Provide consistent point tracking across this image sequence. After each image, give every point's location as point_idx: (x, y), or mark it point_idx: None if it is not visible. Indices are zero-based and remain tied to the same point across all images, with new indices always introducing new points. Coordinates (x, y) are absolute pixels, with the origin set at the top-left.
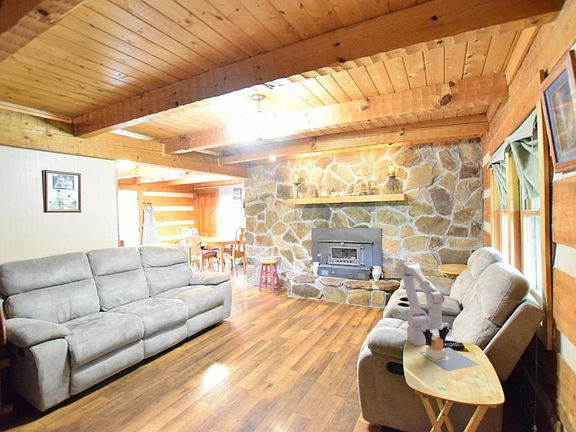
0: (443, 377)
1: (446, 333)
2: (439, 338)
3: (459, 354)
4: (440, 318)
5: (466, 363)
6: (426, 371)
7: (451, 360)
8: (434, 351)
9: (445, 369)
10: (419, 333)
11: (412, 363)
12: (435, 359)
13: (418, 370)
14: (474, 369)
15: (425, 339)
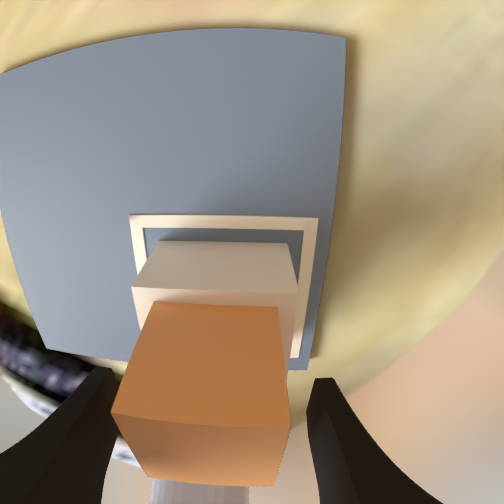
0: (417, 17)
1: (13, 468)
2: (148, 443)
3: (21, 251)
4: None
5: (48, 106)
6: (466, 145)
7: (133, 186)
8: (296, 301)
9: (333, 65)
10: (220, 497)
11: (454, 274)
12: (282, 246)
13: (494, 184)
14: (54, 34)
15: None
